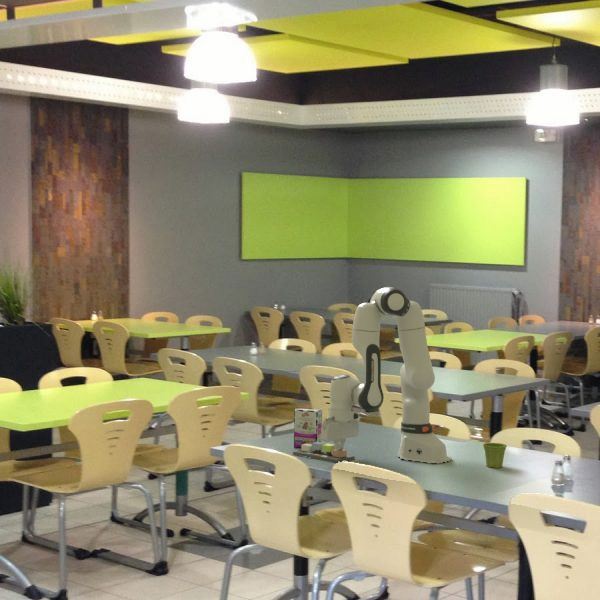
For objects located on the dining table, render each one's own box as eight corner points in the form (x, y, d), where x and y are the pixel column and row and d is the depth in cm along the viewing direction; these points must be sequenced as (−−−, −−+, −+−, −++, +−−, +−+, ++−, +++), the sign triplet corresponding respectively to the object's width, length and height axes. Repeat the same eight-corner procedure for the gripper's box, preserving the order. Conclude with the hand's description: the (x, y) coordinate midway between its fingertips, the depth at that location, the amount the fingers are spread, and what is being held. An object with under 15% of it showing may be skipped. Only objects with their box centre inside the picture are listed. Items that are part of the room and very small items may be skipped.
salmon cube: (346, 458, 447) (346, 450, 447) (340, 460, 444) (340, 451, 444) (338, 457, 450) (338, 448, 450) (332, 458, 447) (332, 450, 447)
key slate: (325, 451, 454) (325, 443, 454) (319, 452, 451) (319, 444, 451) (317, 450, 457) (318, 441, 457) (311, 451, 454) (311, 442, 454)
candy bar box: (322, 448, 471) (322, 409, 470) (316, 450, 466) (317, 411, 465) (298, 445, 476) (299, 407, 475) (293, 447, 471) (293, 408, 470)
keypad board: (354, 459, 449) (354, 455, 449) (337, 462, 441) (337, 459, 440) (310, 451, 464) (310, 447, 464) (292, 454, 456) (293, 450, 456)
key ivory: (314, 453, 458) (315, 444, 458) (308, 454, 455) (308, 445, 455) (307, 451, 460) (307, 443, 460) (301, 453, 457) (301, 444, 457)
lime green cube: (335, 453, 451) (336, 444, 450) (329, 454, 448) (329, 446, 447) (328, 452, 453) (328, 443, 453) (321, 453, 450) (322, 444, 450)
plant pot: (477, 464, 442) (478, 443, 442) (498, 463, 446) (499, 442, 445) (489, 469, 434) (490, 447, 433) (510, 468, 437) (511, 446, 436)
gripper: (329, 419, 436) (328, 454, 437) (361, 414, 452) (361, 447, 452) (317, 417, 440) (316, 452, 441) (349, 412, 456) (348, 445, 456)
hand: (339, 450), depth 447 cm, fingers closed, pressing on salmon cube
